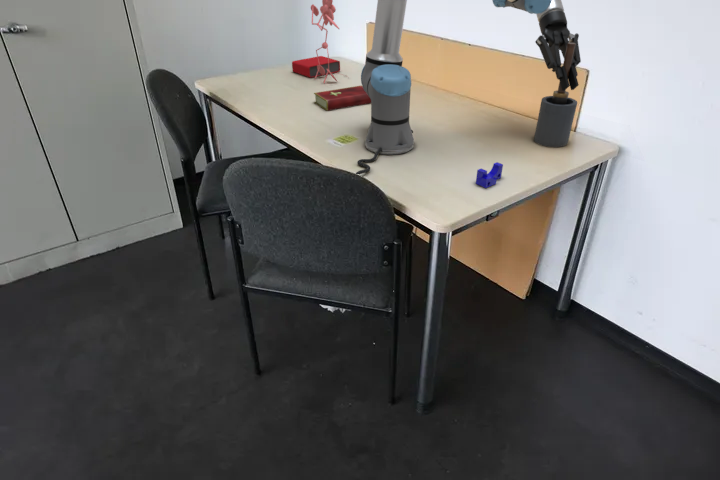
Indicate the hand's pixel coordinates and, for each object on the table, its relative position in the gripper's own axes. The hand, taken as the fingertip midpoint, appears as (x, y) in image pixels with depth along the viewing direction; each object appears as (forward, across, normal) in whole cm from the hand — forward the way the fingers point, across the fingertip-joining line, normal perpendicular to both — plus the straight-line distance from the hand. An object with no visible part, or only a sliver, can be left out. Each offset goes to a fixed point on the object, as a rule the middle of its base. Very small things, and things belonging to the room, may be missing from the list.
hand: (570, 87), depth 141 cm
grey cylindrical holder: (+10, 0, -15) cm, 18 cm away
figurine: (-55, +55, -80) cm, 112 cm away
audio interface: (-67, +60, -89) cm, 127 cm away
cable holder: (+26, +31, 0) cm, 41 cm away
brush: (+5, 0, -10) cm, 11 cm away
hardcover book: (-30, +56, -55) cm, 84 cm away
